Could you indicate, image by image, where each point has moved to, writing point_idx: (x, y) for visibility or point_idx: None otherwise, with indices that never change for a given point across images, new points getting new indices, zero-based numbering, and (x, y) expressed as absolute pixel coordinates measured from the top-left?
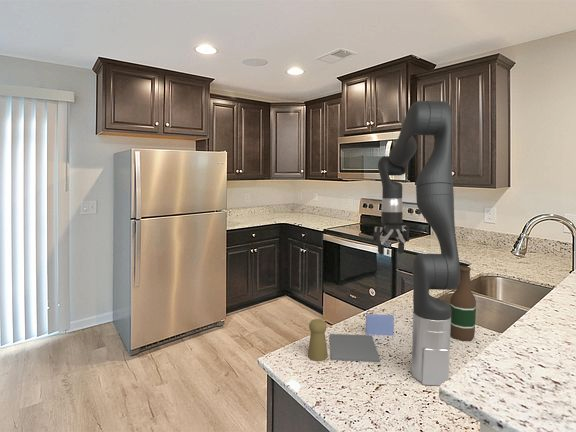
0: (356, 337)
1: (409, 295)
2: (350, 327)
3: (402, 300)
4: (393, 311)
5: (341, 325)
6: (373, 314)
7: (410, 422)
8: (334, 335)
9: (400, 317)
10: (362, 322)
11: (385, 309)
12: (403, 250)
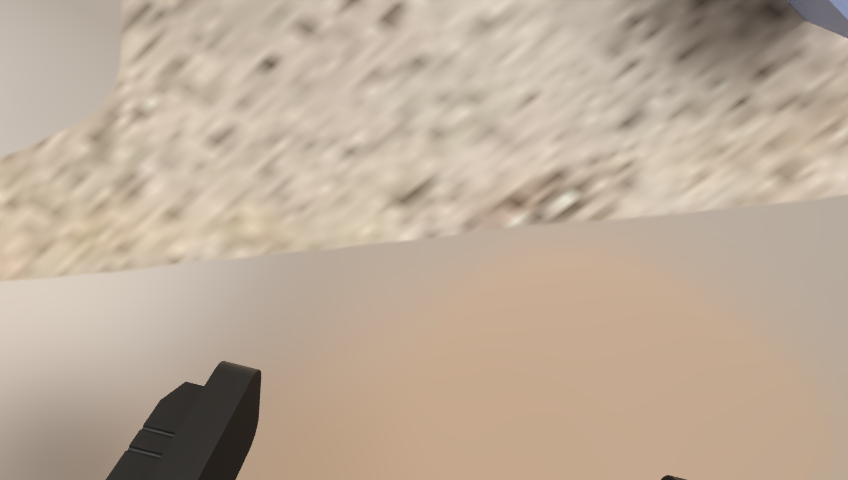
0: None
1: (104, 251)
2: (811, 126)
3: (197, 225)
4: (375, 145)
5: (822, 177)
6: (844, 6)
7: None
8: None
9: (413, 54)
10: (682, 137)
11: (394, 192)
12: (176, 403)
